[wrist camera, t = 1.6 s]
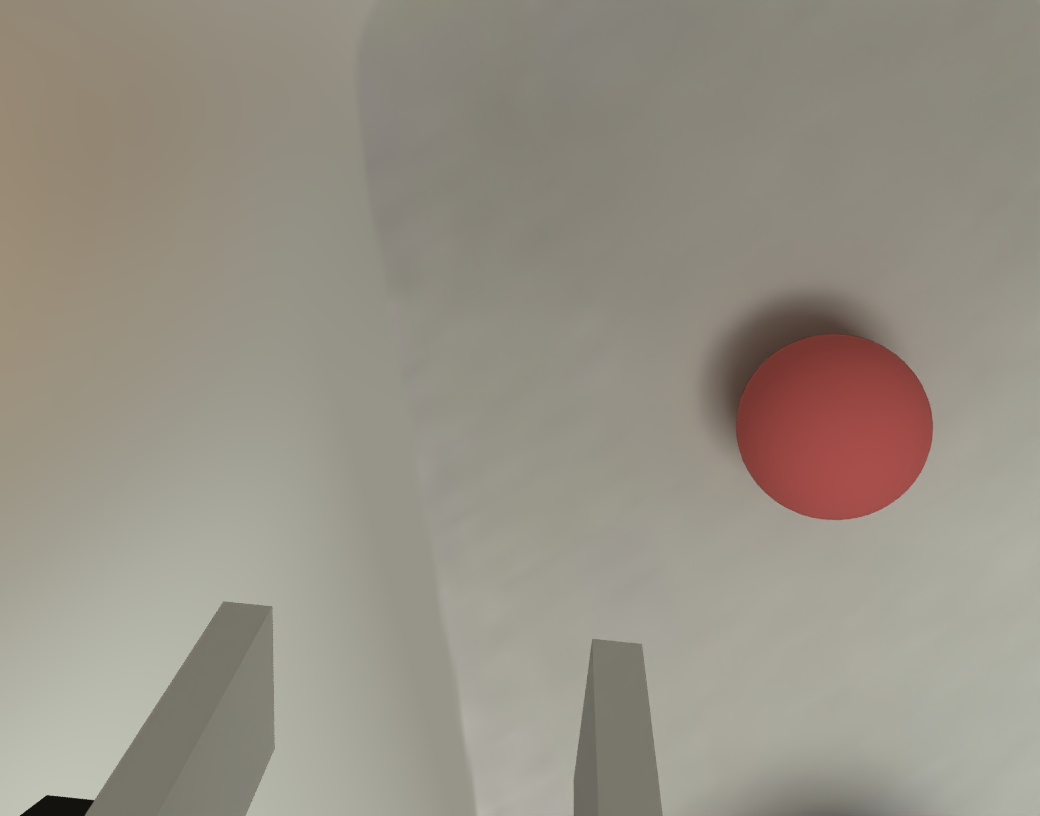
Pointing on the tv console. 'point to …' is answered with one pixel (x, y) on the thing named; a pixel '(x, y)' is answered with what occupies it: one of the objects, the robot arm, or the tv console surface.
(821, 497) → the ball
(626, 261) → the tv console surface
